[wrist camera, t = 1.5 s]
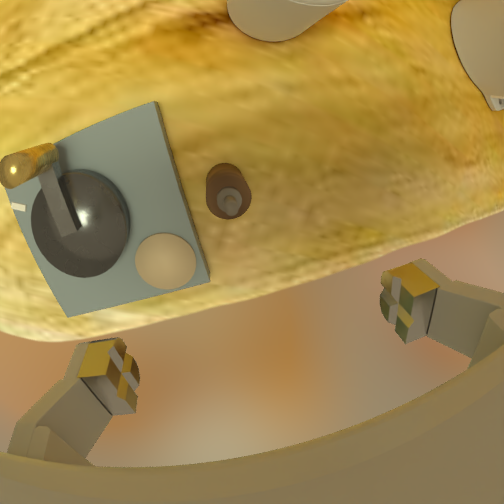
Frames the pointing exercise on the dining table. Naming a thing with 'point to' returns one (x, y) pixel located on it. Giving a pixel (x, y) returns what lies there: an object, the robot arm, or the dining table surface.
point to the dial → (71, 212)
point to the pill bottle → (278, 16)
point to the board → (140, 210)
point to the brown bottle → (227, 191)
